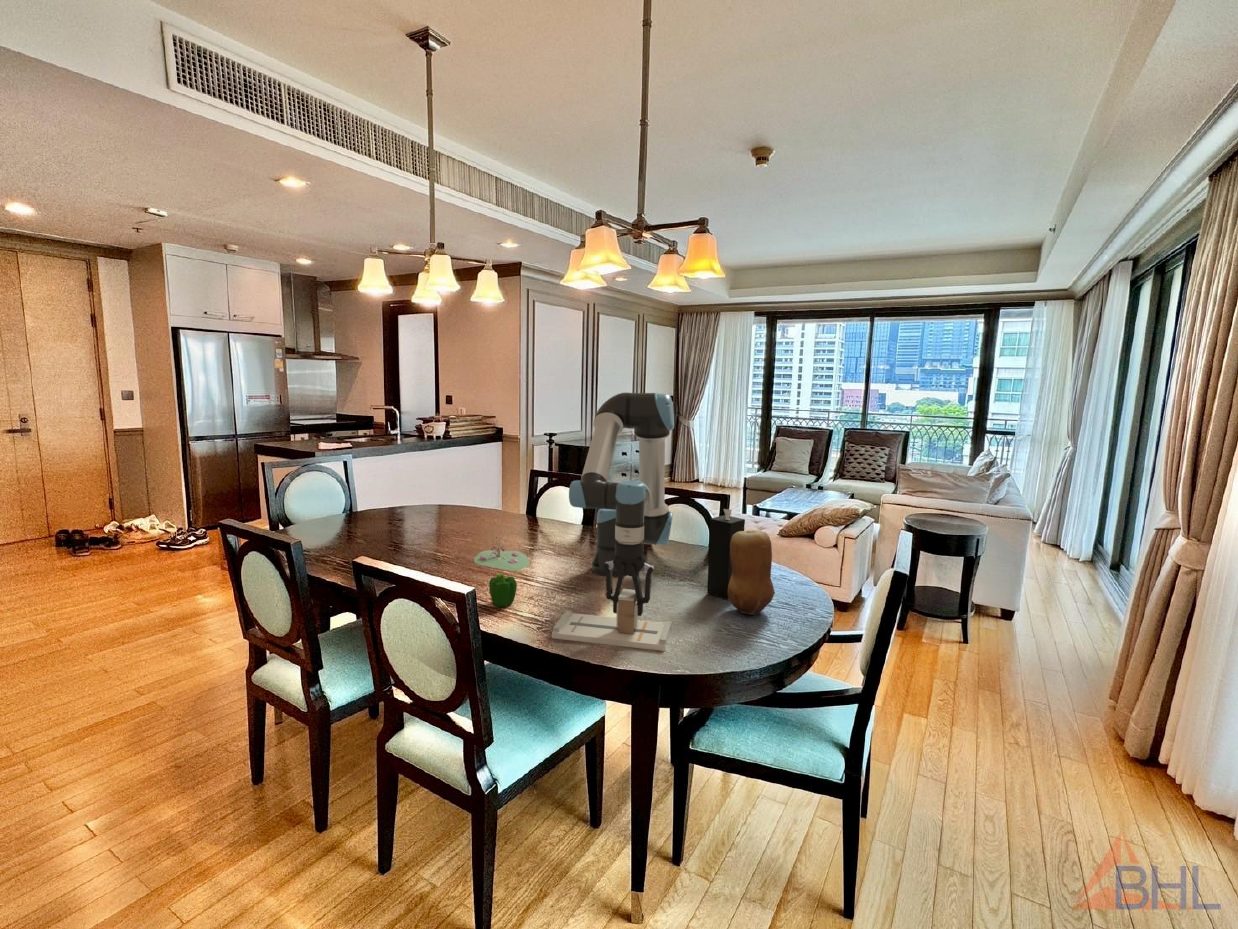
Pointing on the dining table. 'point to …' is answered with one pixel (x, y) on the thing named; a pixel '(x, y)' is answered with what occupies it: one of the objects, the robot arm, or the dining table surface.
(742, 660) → the dining table surface
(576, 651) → the dining table surface
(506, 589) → the bell pepper
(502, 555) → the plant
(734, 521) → the tissue box
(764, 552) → the butternut squash
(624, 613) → the fader knob
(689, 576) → the dining table surface
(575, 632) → the slider console
